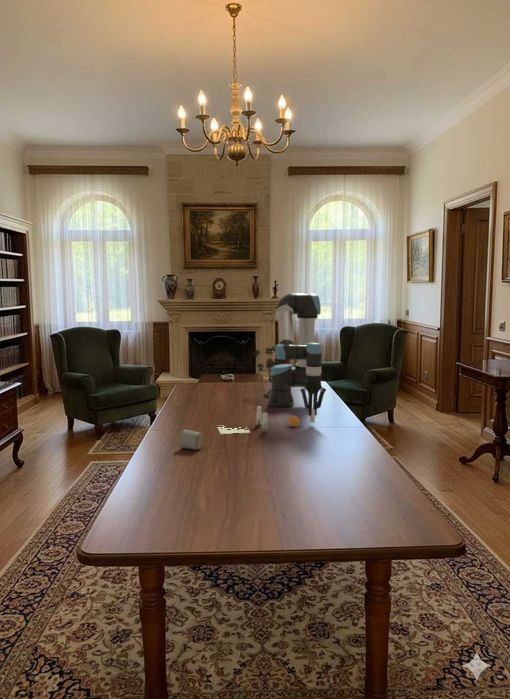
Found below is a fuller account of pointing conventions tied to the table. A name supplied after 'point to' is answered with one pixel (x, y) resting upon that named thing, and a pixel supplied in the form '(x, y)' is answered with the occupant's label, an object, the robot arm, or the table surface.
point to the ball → (293, 421)
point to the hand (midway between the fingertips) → (312, 421)
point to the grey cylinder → (191, 440)
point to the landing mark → (232, 430)
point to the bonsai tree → (268, 363)
